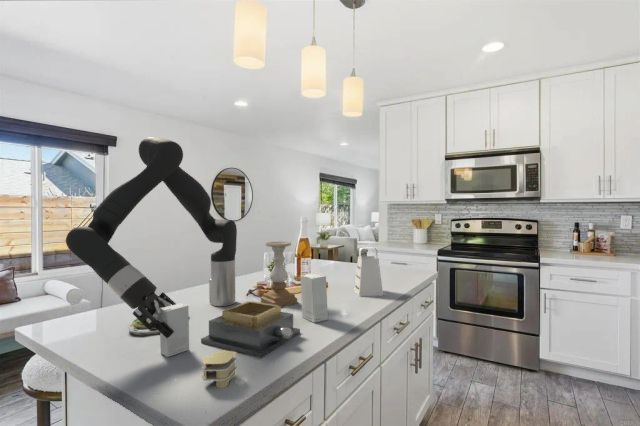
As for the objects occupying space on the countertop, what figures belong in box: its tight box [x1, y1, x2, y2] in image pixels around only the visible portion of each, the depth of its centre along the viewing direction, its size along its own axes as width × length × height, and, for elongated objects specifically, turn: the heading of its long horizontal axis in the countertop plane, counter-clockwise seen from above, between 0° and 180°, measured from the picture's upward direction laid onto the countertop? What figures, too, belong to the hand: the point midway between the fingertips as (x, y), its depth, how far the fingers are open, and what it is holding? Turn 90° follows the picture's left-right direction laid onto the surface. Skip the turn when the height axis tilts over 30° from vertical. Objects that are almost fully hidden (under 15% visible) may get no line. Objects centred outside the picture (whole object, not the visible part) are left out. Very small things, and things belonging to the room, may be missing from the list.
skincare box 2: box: [299, 273, 329, 324], centre depth 115 cm, size 8×6×15 cm
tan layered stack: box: [201, 349, 238, 388], centre depth 74 cm, size 10×9×6 cm
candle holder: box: [260, 241, 298, 307], centre depth 135 cm, size 11×11×24 cm
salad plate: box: [128, 317, 160, 336], centre depth 108 cm, size 19×18×5 cm
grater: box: [353, 246, 384, 297], centre depth 149 cm, size 10×10×20 cm
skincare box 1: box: [159, 302, 190, 358], centre depth 88 cm, size 6×4×12 cm
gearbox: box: [200, 300, 301, 359], centre depth 97 cm, size 24×19×8 cm
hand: (177, 329), depth 88 cm, fingers open, 8 cm apart
